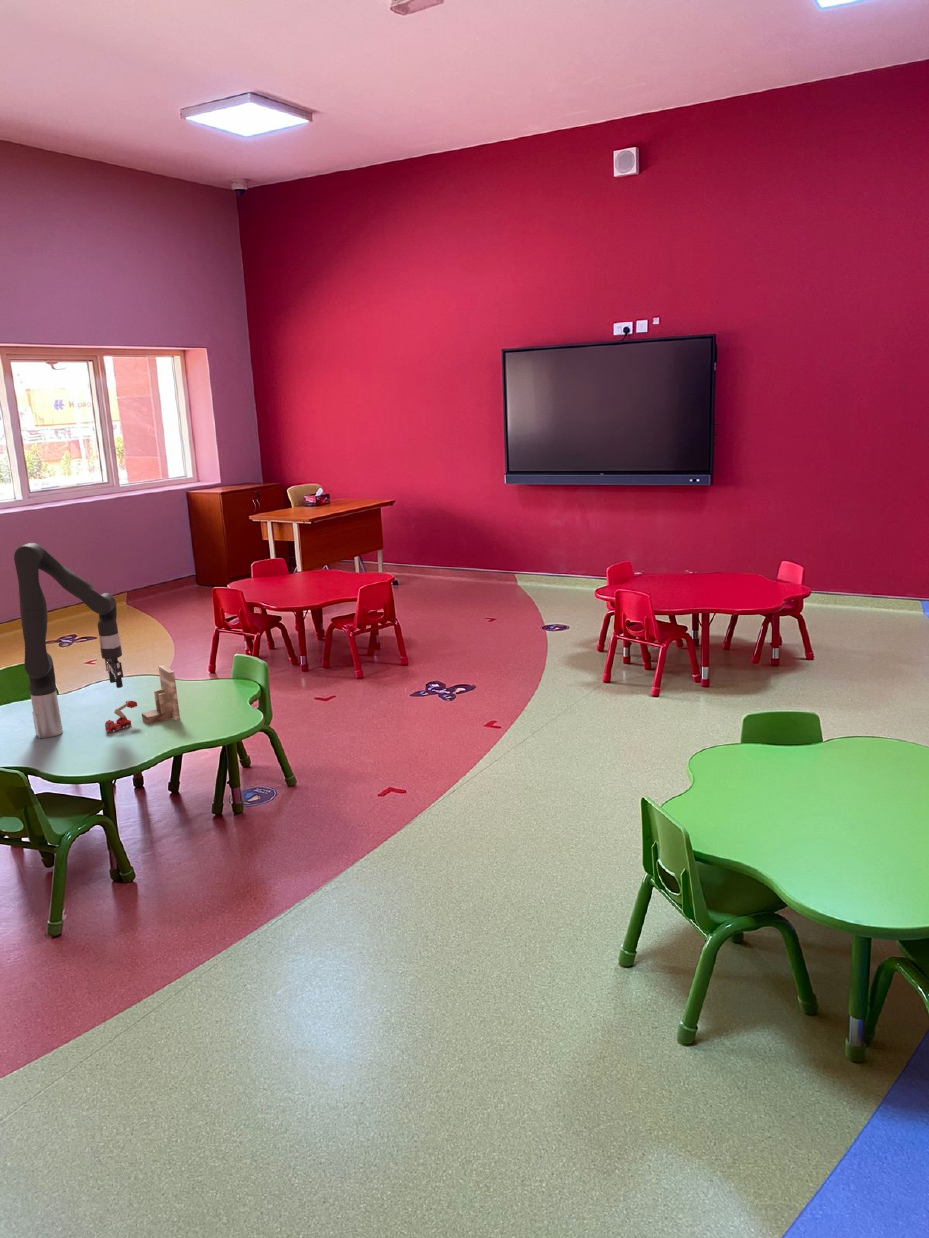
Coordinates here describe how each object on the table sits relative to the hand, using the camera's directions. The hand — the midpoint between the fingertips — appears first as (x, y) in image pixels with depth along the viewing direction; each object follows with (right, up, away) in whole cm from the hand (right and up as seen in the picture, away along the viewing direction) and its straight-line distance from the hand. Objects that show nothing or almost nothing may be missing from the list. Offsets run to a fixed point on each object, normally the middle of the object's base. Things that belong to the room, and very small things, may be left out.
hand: (116, 684), depth 359 cm
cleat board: (+13, -15, +13) cm, 23 cm away
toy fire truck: (+1, -18, +4) cm, 18 cm away
